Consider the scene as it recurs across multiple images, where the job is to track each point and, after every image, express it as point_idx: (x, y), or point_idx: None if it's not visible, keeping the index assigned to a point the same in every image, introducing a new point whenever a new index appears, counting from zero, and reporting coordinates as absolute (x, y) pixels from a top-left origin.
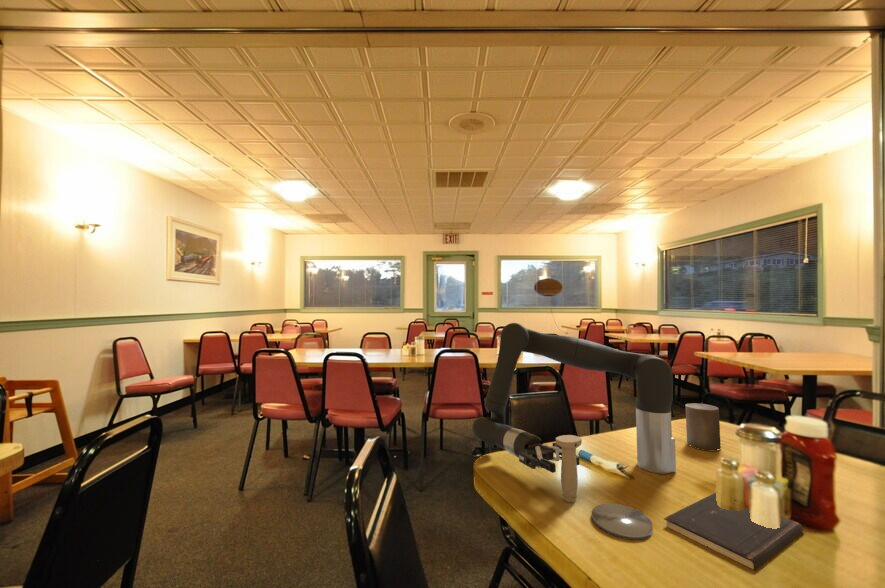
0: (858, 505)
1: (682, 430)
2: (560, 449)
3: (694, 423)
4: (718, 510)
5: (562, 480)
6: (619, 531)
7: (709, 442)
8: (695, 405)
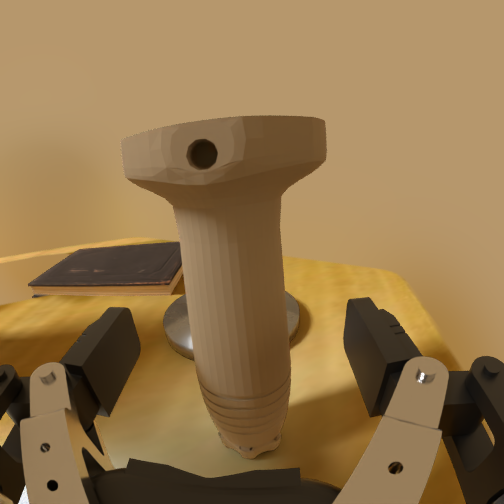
0: (12, 258)
1: None
2: (38, 414)
3: None
4: (88, 270)
5: (289, 383)
6: (285, 291)
7: None
8: None
